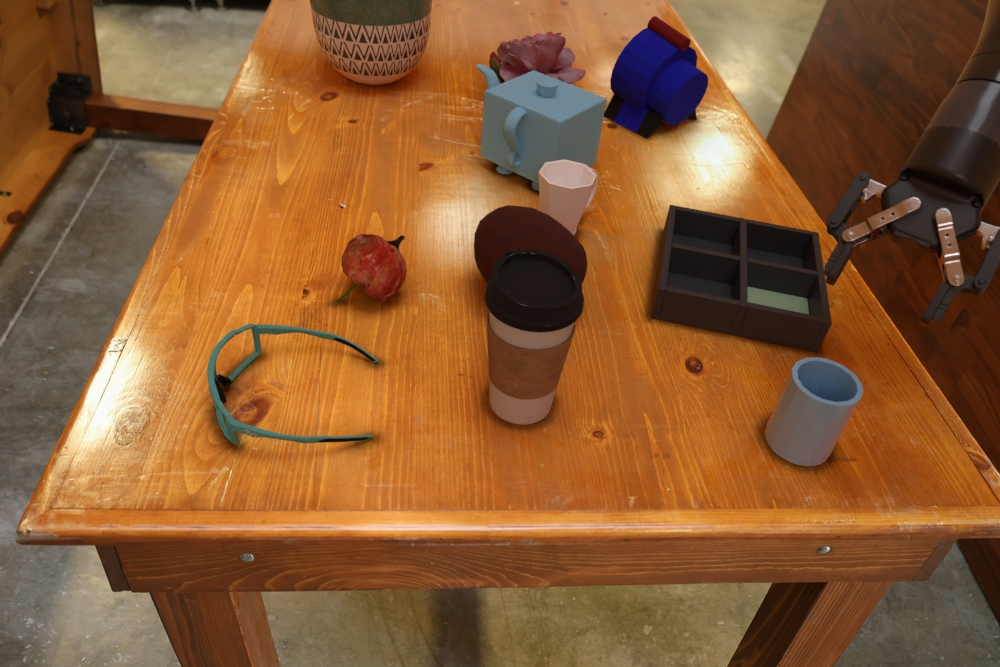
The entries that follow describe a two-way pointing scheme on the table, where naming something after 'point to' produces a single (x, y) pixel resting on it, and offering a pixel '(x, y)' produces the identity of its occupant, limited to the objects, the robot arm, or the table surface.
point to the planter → (372, 36)
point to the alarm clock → (656, 80)
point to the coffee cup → (529, 331)
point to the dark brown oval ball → (525, 238)
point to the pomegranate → (374, 265)
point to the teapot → (538, 123)
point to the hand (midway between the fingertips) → (875, 303)
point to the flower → (535, 58)
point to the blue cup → (812, 411)
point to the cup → (566, 191)
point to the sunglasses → (219, 380)
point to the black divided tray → (742, 278)
